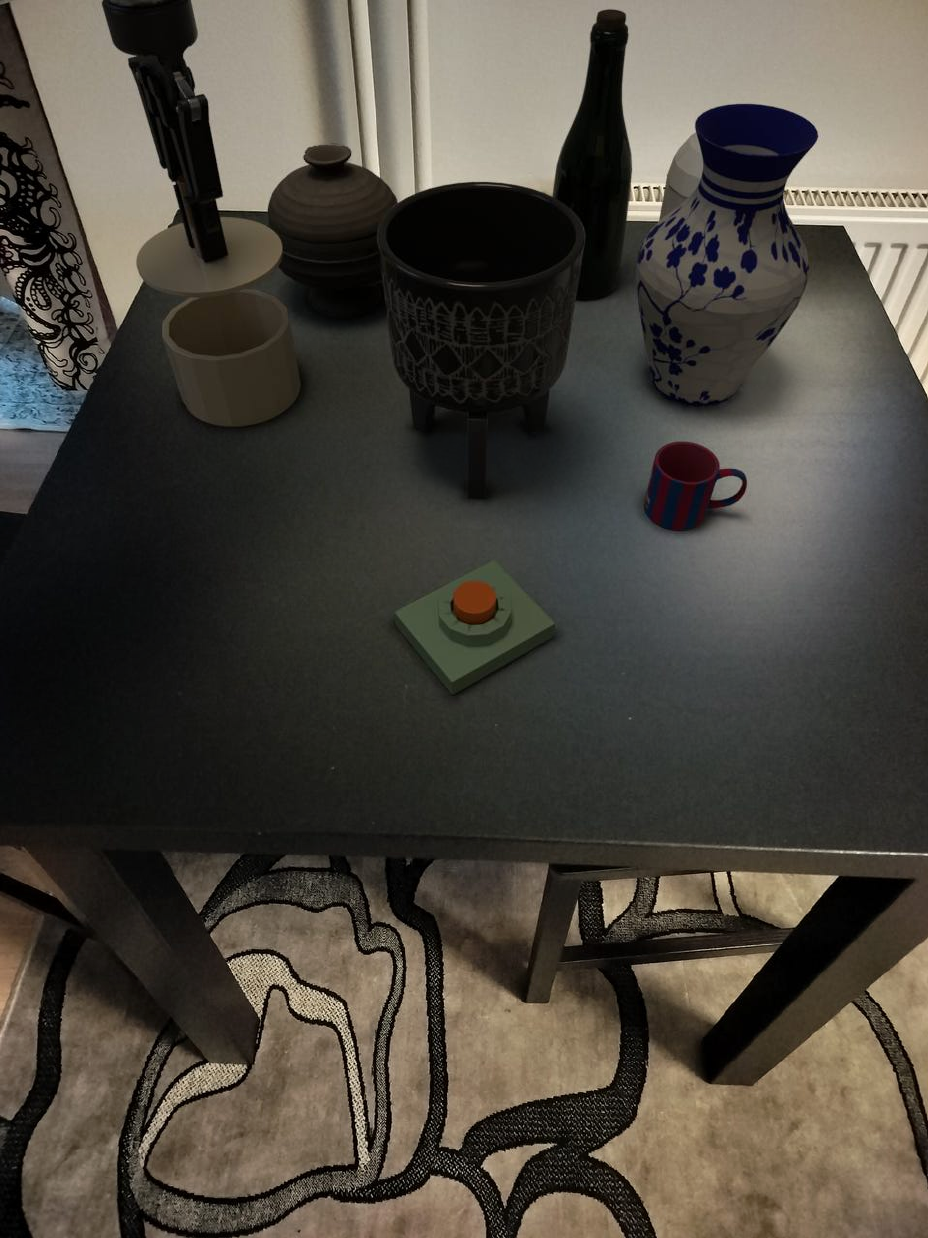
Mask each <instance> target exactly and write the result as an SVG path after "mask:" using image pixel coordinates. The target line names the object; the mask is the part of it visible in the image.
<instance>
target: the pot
mask: <svg viewBox="0 0 928 1238" xmlns="http://www.w3.org/2000/svg"><path fill="white" fill-rule="evenodd" d="M351 157H352V150H351V148H350V147H348V146H347V145H344V144H343V145H337V144H336V143H334V142H331V144H318V145H313V146H309V147H307V148H306V149H305V150H304V154H303V156H302V159H303V161H304V162H305V164H306V165H303V166H300V167H298V168H296V169H294V170H293V171H291V172H289V173H288V174H287V175H286V176H285V177H284V178H282V180H280V182H279V183H278V184H277V185H276V187H275V188H274V189H273V191H272V193H271V196H270V198H269V201H268V205H267V218H268V219H267V221H268V223H267V227H268V228H270V229H271V230H273V231H274V232H275V233H276V234H277V235H278V236H279V238H280V240H281V243H282V247H283V257H282V260H281V263H280V265H279V266H278V267H277V268H279V270H280V271H281V272H282V273H283V274H284V275H285V276H286V277H288V278H291V280H293V281H294V282H296V283H299V284H302V285H303V286H307V287H310V289H309V290H308V302H309V304H310V306H311V307H312V308H313V309H314V310H315V311H316V312H317V313H320V314H322V315H324V316H328V317H334V318H351V317H356V316H360V315H363V314H366V313H367V312H369V311H371V310H373V309H374V308H375V307H377V305H378V304H379V303H380V301H381V298H382V292H381V288H380V286H379V283H383V282H382V275H381V268H380V260H379V253H378V245H377V230H378V227H379V224H380V222H381V220H382V218H383V217H384V216H385V214H386V213H387V212H388V211H389V210H390V209H391V208H392V207H393V206H395V205H396V204H397V203H399V202H398V198H397V197H396V195H395V193H394V192H393V190H392V188H391V187H390V186H389V185H388V184H387V182H385V181H384V180H383V179H382V178H381V177H380V176H378V175H377V174H376V173H374V171H372V170H370V169H368V168H366V167H364V166H361V165H358V164H355V163H352V162H349V160H350V159H351Z"/></svg>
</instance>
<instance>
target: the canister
mask: <svg viewBox="0 0 928 1238" xmlns="http://www.w3.org/2000/svg"><path fill="white" fill-rule="evenodd" d="M291 327H292V326H291V321H290V316H289V311H288V308H287V307H286V306H285V305H284V304H283V302H282V301H280V300H279V299H278V298H277V297H276V296H274V295H271V294H268V293H267V292H264V291H261V290H259V289H249V288H246V289H244V290H241V291H238V292H234V293H230V294H226V295H221V296H214V297H195V298H193V297H188V298H186V299H185V300H184V301H182V302H181V303H179V304H178V305H176V306H175V307H173V308H172V309H171V310H170V311H169V313H167V316H166V317H165V319H164V320H163V321H162V327H161V328H162V329H161V331H162V334H161V337H162V341H163V345H164V348H165V350H166V353H167V358H168V359H169V360H168V361H169V362H170V366H171V369H172V372H173V373H172V374H173V375H174V378H175V383H176V385H177V388H178V391H179V395H180V398H181V401H182V402H183V403H184V406H185V408H186V409H187V410H188V412H189V413H190V414H191V415H192V416H193V417H195V418H196V419H198V420H200V421H201V422H204V423H207V424H210V425H214V426H220V427H227V428H228V427H229V428H231V427H233V428H234V427H235V428H237V427H247V426H248V427H249V426H253V425H257V424H261V423H264V422H266V421H269V420H271V419H273V418H276V417H277V416H280V415H281V414H282V413H284V412H285V411H286V410H288V409H289V408H290V407H291V406H292V405H294V403H295V401H296V400H297V398H298V396H299V394H300V392H301V385H302V384H301V378H300V372H299V366H298V360H297V353H296V349H295V344H294V343H295V342H294V338H293V337H294V336H293V332H292V328H291Z"/></svg>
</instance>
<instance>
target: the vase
mask: <svg viewBox="0 0 928 1238" xmlns="http://www.w3.org/2000/svg"><path fill="white" fill-rule="evenodd" d="M694 130H695V133H696V134H697V137H698V141H699V145H700V149H701V153H702V157H703V172H702V176H701V180H700V183H699V185H698V187H697V188H696V189H695V191H694V192H693V193H692V194H691V196H690V197H689V198H688V199H687V200H686V201H684V202H683V203H682V204H680V205H679V206H678V207H676V208H675V209H674V210H672V211H671V212H670V213H668V214H667V215H666V216H664V217H663V218H662V219H661V220H660V221H659V220H658V222H657V223H655V225H654V226H652V228H651V229H650V230H649V232H647V234H646V236H645V238H644V240H643V241H642V244H641V247H640V249H639V251H638V254H637V261H636V272H635V286H636V288H635V289H636V293H637V294H636V295H637V304H638V312H639V316H640V317H639V318H640V324H641V331H642V336H643V341H644V346H645V347H644V348H645V353H646V359H647V363H648V369H649V378H650V383H651V384H652V386H653V388H654V389H655V390H656V391H657V393H659V394H660V395H661V396H663V398H666V399H668V400H669V401H672V402H674V403H677V404H679V405H684V406H688V407H697V408H698V407H699V408H704V407H713V406H717V405H720V404H723V403H725V402H726V401H728V400H729V399H731V398H732V397H733V396H734V394H735V393H736V392H737V390H738V389H739V387H740V386H741V384H742V383H743V382H744V380H745V379H746V378H747V377H748V375H749V374H750V373H751V371H752V370H753V369H754V367H755V366H756V365H757V363H758V362H759V361H760V360H761V358H762V357H763V356H764V355H765V353H766V352H767V350H768V349H769V347H770V346H772V344H773V342H774V341H775V340H776V339H777V337H778V335H779V334H780V333H781V332H782V330H783V329H784V327H785V326H786V324H787V323H788V322H789V320H790V318H791V317H792V315H793V314H794V312H795V311H796V309H797V308H798V306H799V304H800V302H801V300H802V297H803V295H804V293H805V290H806V287H807V285H808V281H809V275H810V261H809V255H808V249H807V247H806V244H805V243H804V241H803V239H802V237H801V234H800V232H799V231H798V229H797V227H796V226H795V224H794V223H793V221H792V220H791V217H790V216H789V213H788V211H787V208H786V204H785V198H784V197H785V189H786V185H787V182H788V179H789V177H790V176H791V174H792V172H793V171H794V169H796V167H797V166H798V164H799V163H800V162H801V161H802V160H803V158H804V157H805V156H806V155H807V154H808V152H810V151H811V149H812V148H813V147H814V146H815V144H817V142H818V139H819V132H818V130H817V128H816V126H815V125H814V124H813V123H812V122H811V121H810V120H808V119H807V118H806V117H804V116H802V115H800V114H798V113H796V112H793V111H790V110H788V109H784V108H781V107H777V106H772V105H766V104H765V105H764V104H760V103H759V104H757V103H730V104H724V105H719V106H715V107H712V108H709V109H707V110H705V111H704V112H702V113H701V114H699V115H698V116H697V118H696V119H695V122H694Z"/></svg>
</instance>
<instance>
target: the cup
mask: <svg viewBox="0 0 928 1238" xmlns="http://www.w3.org/2000/svg"><path fill="white" fill-rule="evenodd" d="M720 467H721V466H720V461H719V458H718V457H717V456H716V455H715V453H714V452H713V451H712V450H711V449H709V448H708V447H705V446H704V445H701V444H699V443H695V442H691V441H673V442H669V443H667V444H665V445H663V446H661V447H660V448H659V449H658V450H657V451H656V453H655V455H654V460H653V464H652V468H651V472H650V478H649V481H648V486H647V490H646V494H645V499H644V504H643V507H644V511H645V513H646V515H647V517H648V518H649V519H650V520H651V521H652V522H653V523H654V524H656V525H657V526H659V527H662V528H664V529H667V530H672V531H687V530H690V529H693V528H696V527H697V526H699V525H700V524H701V523H702V522H703V521H704V520H705V517H706V515H707V512H708V510H712V509H713V510H715V509H721V508H726V507H729V506H732V505H734V504H736V503H738V502H739V501H740V500H741V499H742V498H743V497H744V495H745V493H746V491H747V487H748V478H747V476H746V473H745V472H744V471H742V470H741V469H738V468H730V467H729V468H720ZM726 477H736V478H738V479H740V480H741V486H740V488H739V490H738V491H737V492H736V493H735V494H733V495H732V496H729V497H727V498H722V499H711V498H712V496H713V492H714V490H715V486H716V483H717V482H718V481H719V480H721V479H723V478H726Z"/></svg>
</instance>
